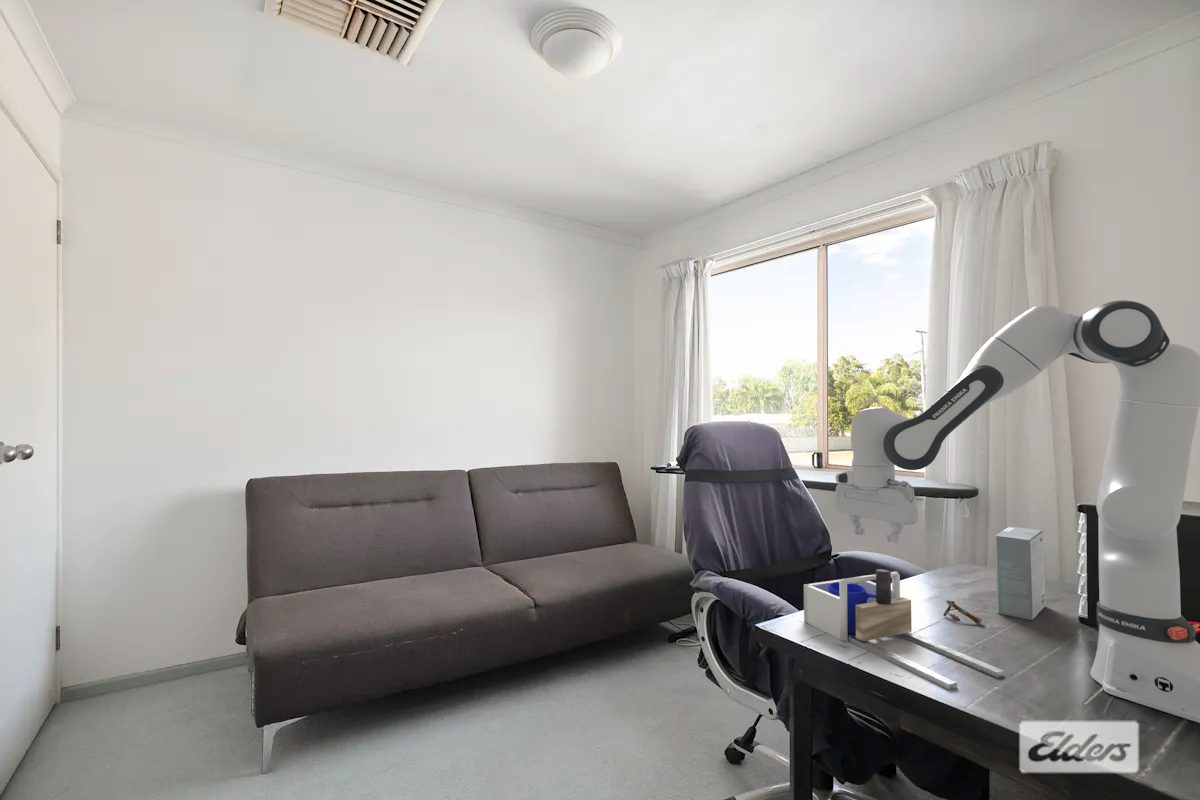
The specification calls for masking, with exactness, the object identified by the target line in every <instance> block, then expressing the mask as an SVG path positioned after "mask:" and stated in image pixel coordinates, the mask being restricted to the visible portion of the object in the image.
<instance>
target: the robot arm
mask: <svg viewBox="0 0 1200 800" xmlns="http://www.w3.org/2000/svg"><path fill="white" fill-rule="evenodd" d="M1170 342H1171V340H1170V337H1169V336H1168V333H1166V331H1165V329H1164V327H1163V326H1162V323H1161V320H1160V318H1159V316H1157V314H1156V312H1155V311H1153V310H1152V309H1151V308H1150V306H1147V305H1146V304H1143V303H1141V302H1138V301H1133V300H1114V301H1110V302H1105V303H1103V304H1101V305H1099V306H1098V305H1097V306H1096V307H1093V308H1092V309H1090V310H1088V311H1087V312H1085V313H1082V314H1080V315H1074V314H1071V313H1070V314H1069V313H1068V312H1067V311H1065V310H1063V309H1062V308H1060V307H1057V306H1054V305H1048V304H1040V305H1039V304H1038V305H1035V306H1033V307H1031V308H1029V309H1028V310H1026V311H1024V312H1023V313H1022V314H1020V315H1018V316H1017V317H1016V318H1014V319H1013V320H1011V321H1010V322H1008V323H1007V324H1006V325H1005V326H1004V327H1002V328H1001V329H1000V330H998V332H996V333H995V334H994V335H993V336H992V337H991V338H990V339H988V340H987V342H985V343H984V344H983V346H981V348H980V349H979V350H978V351H977V352H976V353H975V354H974V356H973V357H972V359H970V361H969V362H968V365H966V367H965V369H964V370H963V372H962V374H961V375H960V376H959V377H958V379H957V381H956V382H955V383H954V385H952V386H951V387H950V388H949V389H948V390H947V391H946V392H945V393H944V394H942V395H941V396H940V397H939V398H938V399H937V400H936V401H934V402H933V403H932V404H931V405H930V406H929V407H927V408H926V409H925V410H923V412H921V413H920V414H919V415H917V416H915V417H913V418H910V417H908V416H905V415H903V414H900V413H897V412H896V411H893V410H892V409H890V408H889V407H888V406H877V407H876V406H875V407H874V406H873V407H870V408H869V407H868V408H865V409H861V410H859V411H857V412H856V413H855V414H854V415H853V416H852V420H851V428H850V446H851V449H852V454H853V456H852V461H851V469H849V470H848V469H847V470H846V471H842V472H840V473H839V472H838V473H836V474H835V482H836V483H837V485H836V487H835V507H836V509H837V512H839V513H840V514H845V515H848V516H849V520H850V523H851V525H852V526H853V533H854V535H857V536H864V535H865V527H863V526H862V524H861V519H862V518H866V519H870V520H875V521H882V522H887V523H890V526H889V527H890V528H891V531H890V533H887V534H886V537H887V538H886V541H887V542H888V543H891V544H898V543H899V542H900V541H899V539H900V538H899V536H900V534H901V533H902V530H903V528H904V526H911V525H915V524H917V522H918V520H919V512H918V505H917V501H916V500H917V499H916V496H915V489H914V487H913V486H912V485H911V484H909V482H908V481H906V480H896V475H895V474H896V472H895V471H896V470H895V469H896V468H895V466H896V467H897V468H900V469H903V470H906V471H918V470H921V469H924V468H926V467H928V466H929V465H931V464H932V463H933V462H934V460H935V459H936V457H937V456H938V454H939V453H940V450H941V448H942V444H943V442H944V441H945V440H946V438H947V437H948V436H949V435H950V434H951V433H952V432H953V431H954V430H955V429H956V428H958V427H959V426H960V425H961V424H963V423H964V422H965V421H966V420H967V419H969V417H971V416H972V415H973V414H974V413H976V412H977V410H979V409H981V408H982V407H984V406H985V405H987V404H989V403H991V402H993V401H995V400H998V399H1000V398H1001V399H1002V398H1003V397H1006V396H1007V395H1010V394H1012V393H1014V392H1015V391H1018V389H1020V388H1022V387H1023V386H1025V385H1026V384H1027V383H1029V382H1031V381H1032V380H1033V379H1034V378H1036V377H1037V376H1038V375H1040V374H1041V373H1042V372H1043V371H1044V370H1045V369H1046V368H1047V367H1049V366H1050V365H1051V364H1052V363H1054V362H1055V361H1056V360H1057V359H1060V358H1061V357H1063V356H1065V355H1069V356H1072V357H1075V358H1078V359H1081V360H1083V361H1085V362H1089V363H1094V364H1095V363H1096V364H1112V365H1114V367H1115V368H1116V370H1117V371H1118V375H1119V383H1120V384H1119V388H1118V392H1117V396H1116V400H1115V406H1114V412H1113V416H1112V417H1113V418H1112V422H1111V427H1110V431H1109V432H1110V433H1109V436H1108V437H1109V438H1108V441H1107V448H1106V451H1105V453H1106V454H1105V458H1104V463H1103V466H1102V467H1103V468H1102V473H1101V478H1100V484H1099V488H1098V494H1097V497H1096V504H1095V505H1096V512H1097V515H1098V518H1097V519H1098V520H1097V521H1098V587H1099V588H1098V590H1099V591H1098V592H1099V597H1098V598H1099V600H1098V601H1097V602H1096V625H1097V629H1098V639H1097V644H1096V645H1097V646H1096V652H1095V657H1094V661H1093V663H1092V666H1091V669H1090V672H1089V675H1090V676H1091V677H1092V679H1094V681H1096V682H1097V683H1098V684H1100V685H1101V686H1102V689H1103V690H1104V692H1105V693H1107V694H1109V695H1112V696H1115V697H1118V698H1121V699H1125V700H1126V701H1127V700H1128V701H1131V702H1134V703H1136V704H1140V705H1143V706H1146V707H1149V708H1153V709H1154V710H1158V711H1161V712H1165V713H1168V714H1171V715H1174V716H1177V717H1180V718H1183V719H1186V720H1189V721H1193V722H1196V723H1198V724H1200V643H1199V642H1198V641H1197V640H1196V632H1198V631H1200V628H1199V627H1200V624H1199V623H1195V624H1191V623H1190V622H1189V621H1188V620H1186V618H1185V617H1184V616H1183V615H1182V614H1181V611H1182V609H1181V579H1180V578H1181V577H1180V575H1181V574H1180V563H1179V562H1180V561H1179V547H1178V546H1179V545H1178V532H1177V530H1178V529H1177V528H1178V527H1177V526H1178V525H1179V523H1180V520H1181V514H1182V510H1183V505H1184V504H1183V503H1184V497H1185V490H1186V485H1187V478H1188V477H1187V476H1188V473H1189V472H1188V470H1189V464H1190V459H1191V457H1190V456H1191V451H1192V445H1193V440H1194V435H1195V430H1196V425H1197V420H1198V416H1199V411H1200V355H1199V354H1198V353H1197V352H1196V351H1195V350H1194V349H1191V348H1189V347H1187V346H1184V345H1180V344H1175V343H1170Z"/></svg>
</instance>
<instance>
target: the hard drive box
mask: <svg viewBox="0 0 1200 800" xmlns="http://www.w3.org/2000/svg"><path fill="white" fill-rule="evenodd" d="M994 552H995V553H994V555H995V557H994V558H995V581H996V582H995V584H996V585H995V588H996V589H995V590H996V612H997V614H999V615H1005V616H1009V617H1014V618H1019V619H1024V620H1027V621H1028V620H1029V621H1033V620H1034V619H1035V618H1036V617H1037V616H1038V614H1039V613H1040V612H1041V611H1042V610H1043V609H1044V608H1045V607H1046V604H1047V602H1046V579H1045V577H1046V576H1045V559H1044V557H1045V556H1044V554H1045V553H1044V534H1043V530H1041V529H1034V528H1033V529H1032V528H1027V527H1026V528H1024V527H1017V526H1008V527H1007V528H1005V529H1003V530H1001V531H1000V532H999V533H997V534H996V535H994Z"/></svg>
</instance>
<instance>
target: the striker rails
mask: <svg viewBox="0 0 1200 800" xmlns="http://www.w3.org/2000/svg"><path fill="white" fill-rule="evenodd" d="M897 636H898V637H901V638H904V639H905V640H909V641H911V642H913V643H916V644H918V645H919V646H921V647H925V648H927V649H929V650H931V651H933V652H936V653H939V654H941V655H943V656H946V657H948V658H951V659H953V660H955V661H957V662H960V663H962V664H964V665H967V666H969V667H971V668H974V669H976V670H979V671H981V672H983V673H985V674H988V675H990V676H993V677H995V678H1002V677H1004V676H1005V670H1003V669H1001V668H999V667H996V666H994V665H991V664H989V663H987V662H984V661H981V660H979V659H976V658H975V657H973V656H969V655H967V654H965V653H962V652H960V651H958V650H955V649H953V648H950V647H948V646H945V645H943V644H940V643H937V642H935V641H933V640H930V639H928V638H926V637H923V636H921V635H918V634H916V633H914V632H908V633H903V634H898V635H897ZM848 642H850V643H852V644H854V645H856V646H859V647H860V648H863V649H864V650H866V651H868V652H871V653H872V654H875V655H876V656H879V657H880V658H883V659H885V660H887V661H889V662H891V663H893V664H895V665H897V666H899V667H901V668H903V669H905V670H908V671H910V672H911V673H912V674H913V673H914V674H916V675H918V676H919V677H922V678H924V679H926V680H928V681H929V682H932V683H934V684H936V685H939V686H940V687H943V688H944V689H946V690H948V691H951V690H956V689H957V688H958V682H957V681H954V680H952V679H950V678H948V677H945V676H943V675H942V674H939V673H937V672H936V671H933V670H931V669H929V668H927V667H925V666H922V665H920V664H918V663H916V662H914V661H912V660H909V659H907V658H905V657H903V656H901V655H898V654H897V653H894V652H893V651H890V650H888V649H885V648H884V647H882V646H880V645H878V644H875V643H873V642H872V641H870V640H867V641H861V640H859V639H857V638H856V634H855V635H850V636H848Z"/></svg>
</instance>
